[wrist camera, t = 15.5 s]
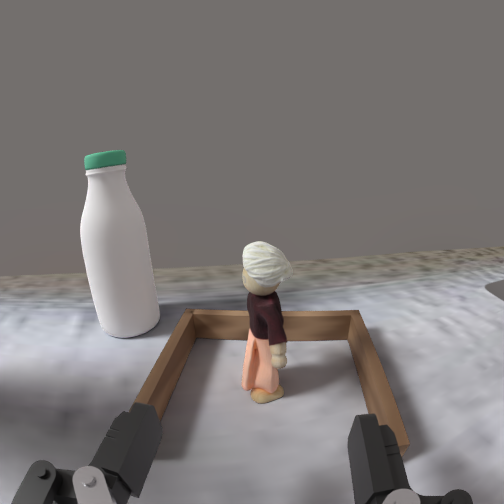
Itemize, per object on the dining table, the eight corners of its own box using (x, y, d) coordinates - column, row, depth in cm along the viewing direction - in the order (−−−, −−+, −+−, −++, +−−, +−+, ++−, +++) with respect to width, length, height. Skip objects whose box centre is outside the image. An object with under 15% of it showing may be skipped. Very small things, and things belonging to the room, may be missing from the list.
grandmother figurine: (228, 367, 26) (217, 233, 22) (267, 357, 27) (265, 227, 23) (261, 427, 19) (257, 268, 15) (307, 411, 20) (321, 257, 16)
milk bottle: (172, 324, 33) (150, 145, 27) (112, 347, 28) (75, 154, 22) (146, 301, 38) (126, 151, 32) (95, 319, 34) (66, 160, 27)
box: (131, 457, 16) (117, 433, 15) (189, 332, 32) (186, 308, 31) (395, 467, 14) (410, 443, 13) (354, 333, 30) (358, 309, 29)
